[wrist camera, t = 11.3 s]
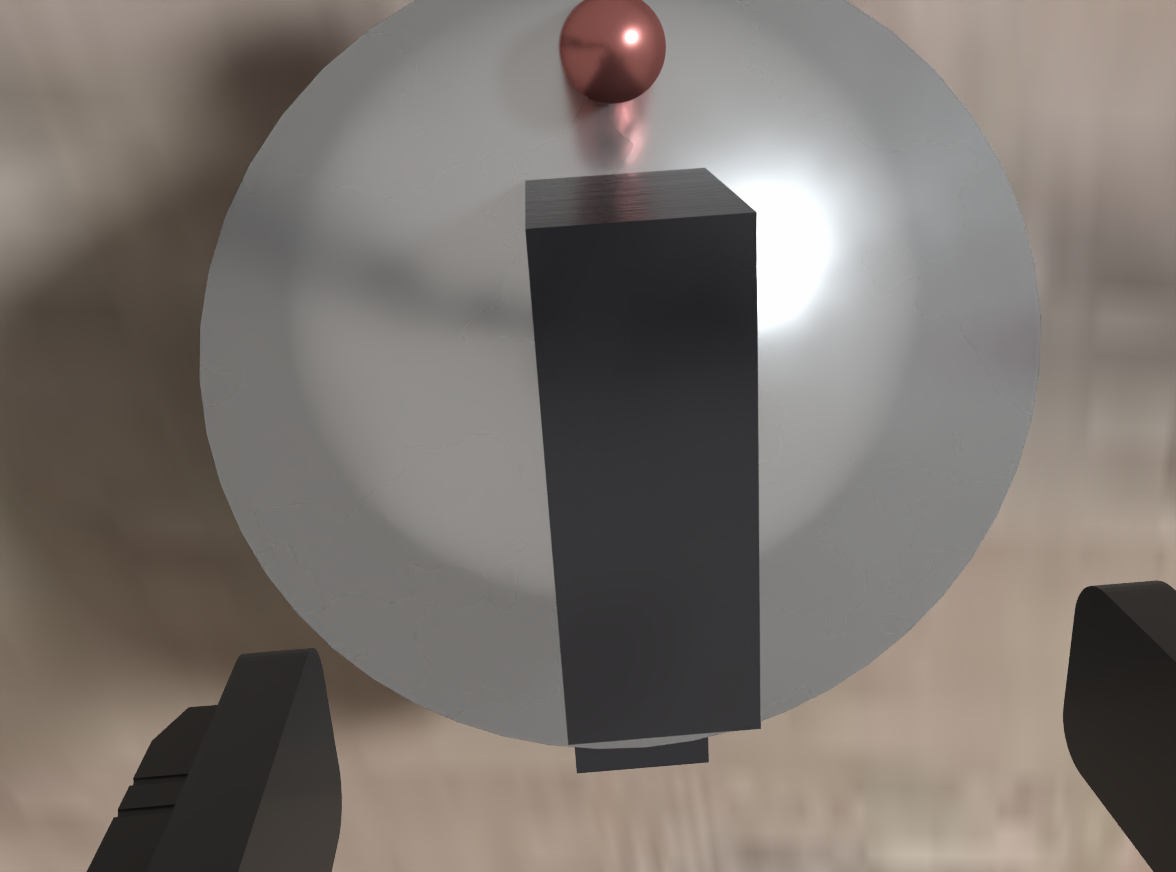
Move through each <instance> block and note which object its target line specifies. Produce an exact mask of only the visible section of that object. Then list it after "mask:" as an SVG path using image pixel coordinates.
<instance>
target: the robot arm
mask: <svg viewBox="0 0 1176 872" xmlns="http://www.w3.org/2000/svg"><path fill="white" fill-rule="evenodd" d="M1063 724H1064V732H1065V738H1066V742H1067V746H1068V749H1069V752H1070V755H1071V757H1072V760H1073V762H1074V764H1075V766H1076V768H1077V769H1078V771H1079V772H1080V774H1081V775H1082V777H1083V778H1084V779H1085V781H1086V782H1087V783H1088V785H1089V786H1090V787H1091V789H1092V790H1093V791H1094V793H1095V794H1096V795H1097V797H1098V798H1099V799H1100V801H1101V802H1102V803H1103V805H1104V806H1105V807H1106V809H1107V810H1108V811H1109V813H1110V814H1111V815H1112V817H1113V818H1114V819H1115V821H1116V822H1117V823H1118V825H1119V826H1120V827H1121V829H1122V830H1123V831H1124V833H1125V834H1126V835H1127V837H1128V838H1129V839H1130V841H1131V842H1132V844H1133V845H1134V846H1135V848H1136V849H1137V850H1138V852H1139V853H1140V854H1141V856H1142V857H1143V858H1144V860H1145V861H1146V862H1147V864H1148V865H1149V866H1150V868H1151V869H1152V870H1153V872H1176V590H1174V589H1173V588H1172V587H1171V586H1170V585H1168V584H1167V583H1165V582H1162V581H1146V582H1134V583H1122V584H1109V585H1097V586H1089V587H1086V588H1085V589H1083V591H1082V592H1081V593H1080V595H1079V597H1078V600H1077V603H1076V608H1075V615H1074V623H1073V632H1072V640H1071V649H1070V657H1069V666H1068V674H1067V683H1066V691H1065V699H1064V709H1063ZM133 779H134V784H133V786H129V788H128V790H127V792H126V794H125V796H124V798H123V800H122V802H121V804H120V806H119V808H118V817H114V818H113V820H112V822H111V824H110V826H109V828H108V830H107V832H106V834H105V836H104V838H103V840H102V842H101V844H100V846H99V848H98V850H97V852H96V854H95V856H94V858H93V860H92V862H91V864H90V866H89V868H88V870H87V872H332V867H333V863H334V858H335V853H336V848H337V844H338V839H339V834H340V826H341V811H342V794H341V779H340V771H339V764H338V758H337V752H336V746H335V740H334V734H333V728H332V722H331V716H330V710H329V704H328V698H327V692H326V686H325V680H324V674H323V669H322V664H321V660H320V657H319V654H318V652H317V651H316V650H315V649H314V648H309V649H296V650H284V651H272V652H260V653H248V654H242V655H240V657H239V658H238V660H237V661H236V664H235V666H234V668H233V671H232V673H231V675H230V678H229V680H228V682H227V685H226V687H225V689H224V692H223V694H222V696H221V699H220V701H219V703H218V705H212V706H200V707H189V708H187V709H186V710H185V711H184V712H183V713H182V714H181V715H180V716H179V717H178V718H177V719H175V720H174V721H173V722H172V723H171V724H170V725H169V726H168V727H167V728H166V729H164V730H163V731H162V732H161V733H160V734H159V735H158V736H157V737H156V738H155V739H154V740H152V742H151V744H150V746H149V748H148V750H147V752H146V754H145V756H144V758H143V760H142V762H141V764H140V766H139V768H138V770H137V772H136V774H135V776H134V778H133Z"/></svg>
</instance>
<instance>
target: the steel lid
mask: <svg viewBox="0 0 1176 872" xmlns="http://www.w3.org/2000/svg"><path fill="white" fill-rule="evenodd" d="M1040 328H1041V315H1040V306H1039V298H1038V289H1037V280H1036V272H1035V264H1034V260H1033V256H1032V252H1031V248H1030V245H1029V241H1028V237H1027V233H1026V229H1025V225H1024V221H1023V218H1022V214H1021V211H1020V208H1019V206H1018V204H1017V201H1016V199H1015V197H1014V194H1013V192H1012V189H1011V187H1010V185H1009V182H1008V180H1007V178H1006V175H1005V173H1004V170H1003V168H1002V166H1001V163H1000V161H999V159H998V158H997V156H996V154H995V153H994V151H993V150H992V148H991V146H990V145H989V143H988V141H987V140H986V138H985V136H984V135H983V133H982V131H981V130H980V128H979V126H978V125H977V123H976V121H975V120H974V118H973V116H972V115H971V113H970V112H969V111H968V110H967V108H966V107H965V106H964V105H963V104H962V102H961V101H960V100H959V99H958V97H957V96H956V95H955V94H954V93H953V91H952V90H951V89H950V88H949V87H948V85H947V84H946V83H945V82H944V80H943V79H942V78H941V77H940V76H939V74H938V73H937V72H936V71H935V70H934V69H933V68H932V67H931V66H930V65H929V64H928V63H927V62H926V61H924V60H923V59H922V58H921V57H920V56H919V55H918V54H917V53H916V52H914V51H913V50H912V49H911V48H910V47H909V46H908V45H907V44H906V43H905V42H903V41H902V40H901V39H900V38H899V37H898V36H897V35H896V34H895V33H893V32H892V31H891V30H890V29H888V28H887V27H885V26H884V25H882V24H881V23H879V22H878V21H876V20H875V19H873V18H872V17H870V16H869V15H867V14H866V13H864V12H863V11H861V10H860V9H858V8H857V7H855V6H854V5H852V4H851V3H849V2H848V1H846V0H415V1H413V2H412V3H410V4H409V5H407V6H405V7H404V8H402V9H401V10H399V11H398V12H396V13H394V14H393V15H391V16H390V17H388V18H386V19H385V20H383V21H382V22H380V23H379V24H377V25H375V26H374V27H372V28H371V29H369V30H368V31H367V32H366V33H364V34H363V35H362V36H361V37H360V38H359V39H357V40H356V41H355V42H354V43H353V44H352V45H350V46H349V47H348V48H347V49H346V50H344V51H343V52H342V53H341V54H340V55H339V56H337V57H336V58H335V59H334V60H333V61H332V62H330V63H329V64H328V65H327V66H326V67H325V68H323V69H322V70H321V71H320V73H319V74H318V75H317V76H316V77H315V78H314V79H313V81H312V82H311V83H310V84H309V85H308V86H307V87H306V88H305V90H304V91H303V92H302V93H301V94H300V95H299V96H298V98H297V99H296V100H295V101H294V102H293V103H292V104H291V105H290V107H289V108H288V109H287V110H286V111H285V112H284V113H283V115H282V116H281V117H280V119H279V121H278V122H277V124H276V125H275V127H274V128H273V130H272V131H271V133H270V134H269V136H268V137H267V139H266V140H265V142H264V143H263V145H262V147H261V148H260V150H259V151H258V153H257V154H256V156H255V157H254V159H253V160H252V162H251V163H250V165H249V167H248V169H247V171H246V173H245V176H244V178H243V180H242V182H241V184H240V186H239V188H238V191H237V193H236V195H235V197H234V199H233V201H232V203H231V206H230V208H229V210H228V212H227V214H226V216H225V219H224V222H223V226H222V229H221V232H220V236H219V239H218V242H217V246H216V249H215V252H214V255H213V259H212V262H211V265H210V269H209V272H208V279H207V285H206V292H205V298H204V305H203V311H202V318H201V324H200V387H201V395H202V403H203V410H204V418H205V426H206V433H207V437H208V441H209V444H210V448H211V452H212V455H213V459H214V463H215V466H216V470H217V473H218V477H219V481H220V484H221V486H222V489H223V491H224V493H225V496H226V498H227V501H228V503H229V505H230V508H231V510H232V512H233V515H234V517H235V519H236V522H237V524H238V526H239V529H240V531H241V533H242V534H243V536H244V538H245V539H246V541H247V543H248V544H249V546H250V548H251V549H252V551H253V553H254V554H255V556H256V558H257V560H258V561H259V563H260V565H261V566H262V568H263V570H264V571H265V573H266V574H267V576H268V577H269V578H270V580H271V581H272V582H273V583H274V585H275V586H276V587H277V588H278V590H279V591H280V592H281V594H282V595H283V596H284V597H285V599H286V600H287V601H288V602H289V604H290V605H291V606H292V608H293V609H294V610H295V611H296V613H297V614H298V615H299V616H300V617H301V618H302V619H303V620H304V621H305V622H306V623H307V624H308V625H309V626H310V627H311V628H312V629H313V630H314V631H316V632H317V633H318V634H319V635H320V636H321V637H322V638H323V639H324V640H325V641H326V642H327V643H328V644H329V645H330V646H331V647H332V648H333V649H334V650H336V651H337V652H338V653H340V654H341V655H342V656H343V657H345V658H346V659H347V660H349V661H350V662H351V663H353V664H354V665H355V666H356V667H358V668H359V669H360V670H362V671H363V672H364V673H366V674H367V675H368V676H369V677H371V678H372V679H374V680H376V681H378V682H379V683H381V684H383V685H384V686H386V687H388V688H389V689H391V690H393V691H394V692H396V693H398V694H399V695H401V696H403V697H405V698H406V699H408V700H410V701H411V702H413V703H415V704H418V705H420V706H422V707H425V708H427V709H429V710H431V711H434V712H436V713H438V714H440V715H443V716H445V717H447V718H449V719H452V720H454V721H456V722H459V723H462V724H466V725H469V726H472V727H475V728H478V729H482V730H485V731H488V732H491V733H494V734H498V735H501V736H505V737H510V738H515V739H521V740H526V741H531V742H536V743H541V744H547V745H555V746H568V747H580V748H593V749H609V748H641V747H652V746H659V745H666V744H673V743H680V742H687V741H694V740H698V739H702V738H706V737H710V736H714V735H718V734H722V733H726V732H729V731H739V730H750V729H761V721H762V720H765V719H768V718H770V717H773V716H776V715H779V714H781V713H784V712H786V711H788V710H790V709H792V708H794V707H796V706H798V705H800V704H802V703H804V702H806V701H808V700H810V699H812V698H814V697H816V696H818V695H820V694H822V693H824V692H826V691H828V690H830V689H831V688H833V687H834V686H836V685H837V684H839V683H841V682H842V681H844V680H845V679H847V678H848V677H850V676H851V675H853V674H854V673H856V672H857V671H859V670H861V669H862V668H864V667H865V666H867V665H868V664H870V663H871V662H872V661H873V660H875V659H876V658H877V657H878V656H879V655H881V654H882V653H883V652H884V651H886V650H887V649H888V648H889V647H890V646H892V645H893V644H894V643H895V642H897V641H898V640H899V639H900V638H901V637H903V636H904V635H905V634H906V633H907V632H908V631H909V630H910V629H911V628H912V627H913V626H914V625H915V624H916V623H917V622H918V621H919V620H920V619H921V618H922V617H923V616H924V615H925V614H926V613H927V612H928V611H929V610H930V609H931V608H932V607H933V606H934V605H935V604H936V603H937V602H938V600H939V599H940V598H941V597H942V596H943V595H944V593H945V592H946V591H947V590H948V588H949V587H950V586H951V584H952V583H953V582H954V580H955V579H956V578H957V577H958V575H959V574H960V573H961V571H962V570H963V569H964V567H965V566H966V565H967V563H968V562H969V561H970V560H971V558H972V557H973V555H974V553H975V552H976V550H977V548H978V546H979V545H980V543H981V541H982V540H983V538H984V536H985V535H986V533H987V531H988V530H989V528H990V526H991V524H992V523H993V521H994V519H995V518H996V516H997V514H998V512H999V510H1000V507H1001V505H1002V503H1003V500H1004V498H1005V496H1006V494H1007V491H1008V489H1009V487H1010V484H1011V482H1012V480H1013V477H1014V475H1015V473H1016V471H1017V468H1018V465H1019V461H1020V458H1021V454H1022V451H1023V448H1024V444H1025V441H1026V437H1027V434H1028V431H1029V427H1030V424H1031V420H1032V414H1033V408H1034V402H1035V395H1036V389H1037V382H1038V376H1039V370H1040Z"/></svg>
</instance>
